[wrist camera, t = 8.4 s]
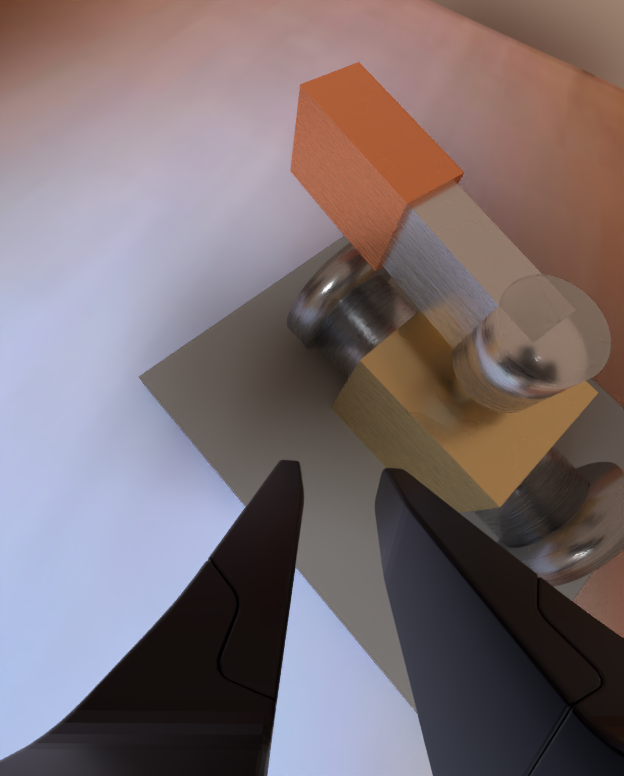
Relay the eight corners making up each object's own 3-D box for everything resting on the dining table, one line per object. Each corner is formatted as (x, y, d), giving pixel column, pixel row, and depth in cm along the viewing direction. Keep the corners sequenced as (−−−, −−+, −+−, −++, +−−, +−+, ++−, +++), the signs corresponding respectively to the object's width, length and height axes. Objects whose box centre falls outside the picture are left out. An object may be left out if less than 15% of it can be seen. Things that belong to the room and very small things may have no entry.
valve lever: (559, 381, 13) (640, 339, 10) (495, 434, 12) (566, 403, 9) (344, 141, 15) (365, 53, 12) (276, 171, 14) (283, 83, 11)
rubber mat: (658, 459, 19) (674, 456, 19) (447, 750, 14) (458, 761, 14) (394, 209, 22) (399, 198, 21) (143, 384, 17) (138, 376, 16)
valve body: (569, 488, 17) (711, 465, 12) (492, 584, 16) (617, 606, 10) (366, 284, 19) (410, 186, 14) (278, 350, 18) (291, 267, 12)
